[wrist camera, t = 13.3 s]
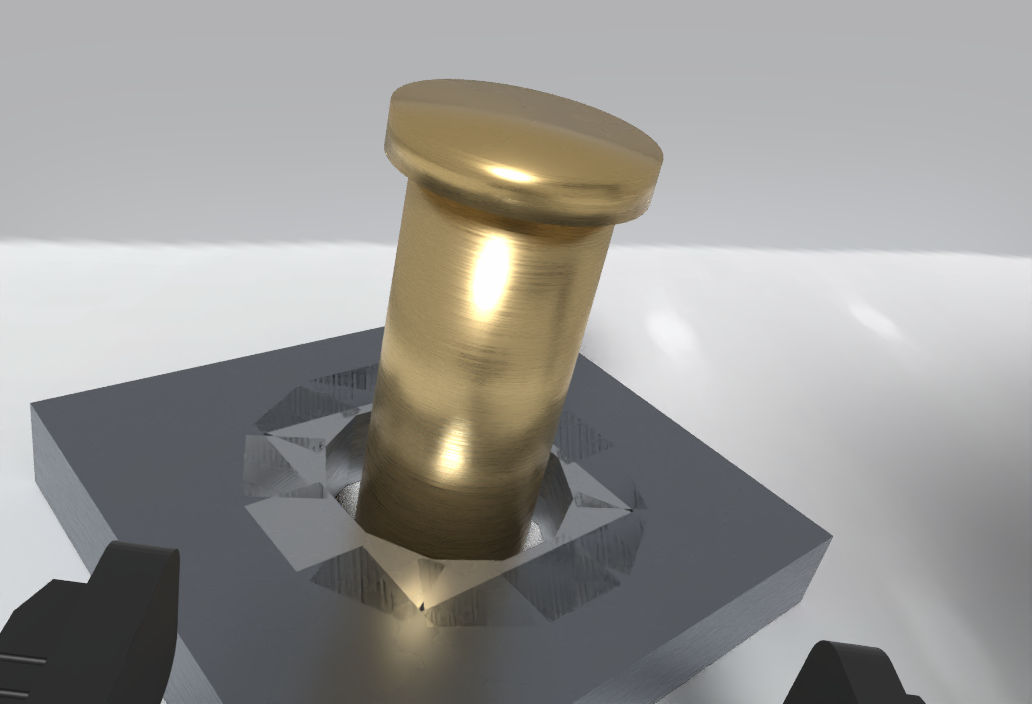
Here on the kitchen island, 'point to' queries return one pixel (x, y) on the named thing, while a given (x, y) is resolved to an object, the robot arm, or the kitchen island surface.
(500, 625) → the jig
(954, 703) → the kitchen island surface
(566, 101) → the brass headed pin
